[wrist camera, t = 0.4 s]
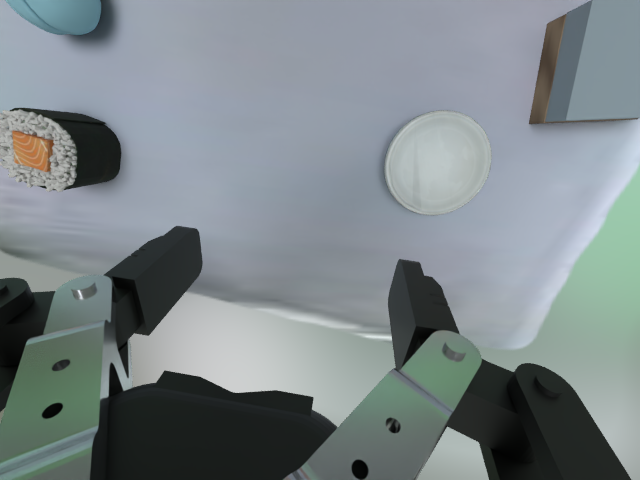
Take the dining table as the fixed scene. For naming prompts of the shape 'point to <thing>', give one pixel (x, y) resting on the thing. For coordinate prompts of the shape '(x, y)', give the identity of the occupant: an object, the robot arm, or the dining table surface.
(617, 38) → the slate top slab
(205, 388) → the robot arm
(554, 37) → the walnut base slab
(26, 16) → the toy flower bud
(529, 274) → the dining table surface
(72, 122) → the sushi
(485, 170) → the ramekin
